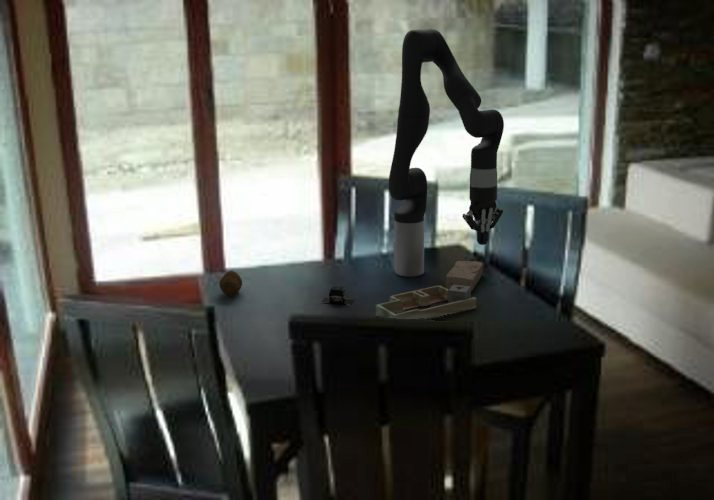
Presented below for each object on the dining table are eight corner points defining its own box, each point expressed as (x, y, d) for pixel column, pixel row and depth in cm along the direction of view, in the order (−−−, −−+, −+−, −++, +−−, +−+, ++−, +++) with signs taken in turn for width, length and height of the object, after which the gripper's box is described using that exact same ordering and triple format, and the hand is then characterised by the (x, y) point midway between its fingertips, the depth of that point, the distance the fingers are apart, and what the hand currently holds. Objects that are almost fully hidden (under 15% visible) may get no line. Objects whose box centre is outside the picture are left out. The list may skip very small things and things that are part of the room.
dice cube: (470, 303, 234) (470, 286, 232) (465, 309, 229) (465, 292, 228) (453, 301, 236) (453, 284, 234) (447, 306, 231) (448, 290, 230)
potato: (219, 301, 239) (218, 279, 237) (220, 289, 250) (218, 267, 248) (243, 300, 240) (241, 277, 238) (242, 287, 251) (241, 265, 249)
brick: (472, 293, 242) (472, 278, 241) (444, 290, 245) (444, 275, 244) (483, 275, 257) (483, 261, 256) (457, 273, 260) (457, 259, 259)
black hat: (361, 300, 239) (361, 285, 238) (355, 309, 233) (355, 294, 231) (320, 297, 242) (319, 283, 241) (313, 306, 235) (312, 291, 234)
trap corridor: (366, 311, 229) (366, 299, 228) (445, 293, 242) (445, 282, 241) (394, 327, 217) (394, 315, 216) (476, 308, 230) (476, 296, 229)
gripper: (493, 178, 233) (492, 237, 238) (455, 184, 226) (455, 244, 231) (511, 182, 226) (509, 243, 231) (472, 188, 220) (471, 251, 225)
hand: (482, 244), depth 231 cm, fingers closed
